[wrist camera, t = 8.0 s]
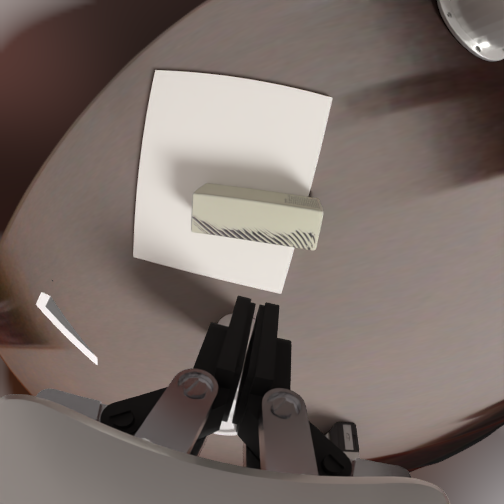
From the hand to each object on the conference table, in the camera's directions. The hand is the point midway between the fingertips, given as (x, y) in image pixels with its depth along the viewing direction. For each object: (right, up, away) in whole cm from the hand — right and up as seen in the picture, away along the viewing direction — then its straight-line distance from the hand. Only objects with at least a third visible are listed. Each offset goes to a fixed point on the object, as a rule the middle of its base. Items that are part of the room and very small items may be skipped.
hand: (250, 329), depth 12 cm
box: (+7, +6, +18) cm, 20 cm away
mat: (-4, +11, +21) cm, 24 cm away
